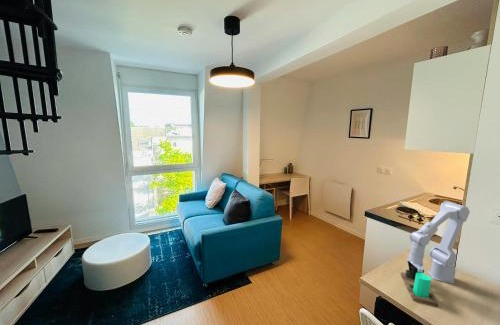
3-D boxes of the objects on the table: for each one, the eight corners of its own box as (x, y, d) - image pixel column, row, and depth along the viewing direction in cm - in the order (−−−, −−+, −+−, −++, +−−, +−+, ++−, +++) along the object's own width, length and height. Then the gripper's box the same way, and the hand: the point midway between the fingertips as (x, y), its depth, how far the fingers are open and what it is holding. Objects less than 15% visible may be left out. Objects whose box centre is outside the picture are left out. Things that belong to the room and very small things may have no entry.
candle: (430, 300, 103) (434, 278, 101) (417, 298, 105) (420, 276, 103) (423, 291, 109) (427, 270, 107) (410, 289, 110) (413, 268, 108)
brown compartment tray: (400, 274, 122) (401, 266, 121) (421, 279, 118) (422, 271, 117) (412, 300, 103) (414, 291, 102) (438, 306, 100) (439, 297, 99)
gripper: (403, 245, 122) (400, 266, 125) (412, 259, 109) (409, 282, 111) (418, 247, 120) (415, 269, 122) (429, 262, 107) (425, 286, 109)
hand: (413, 275), depth 117 cm, fingers open, 4 cm apart
